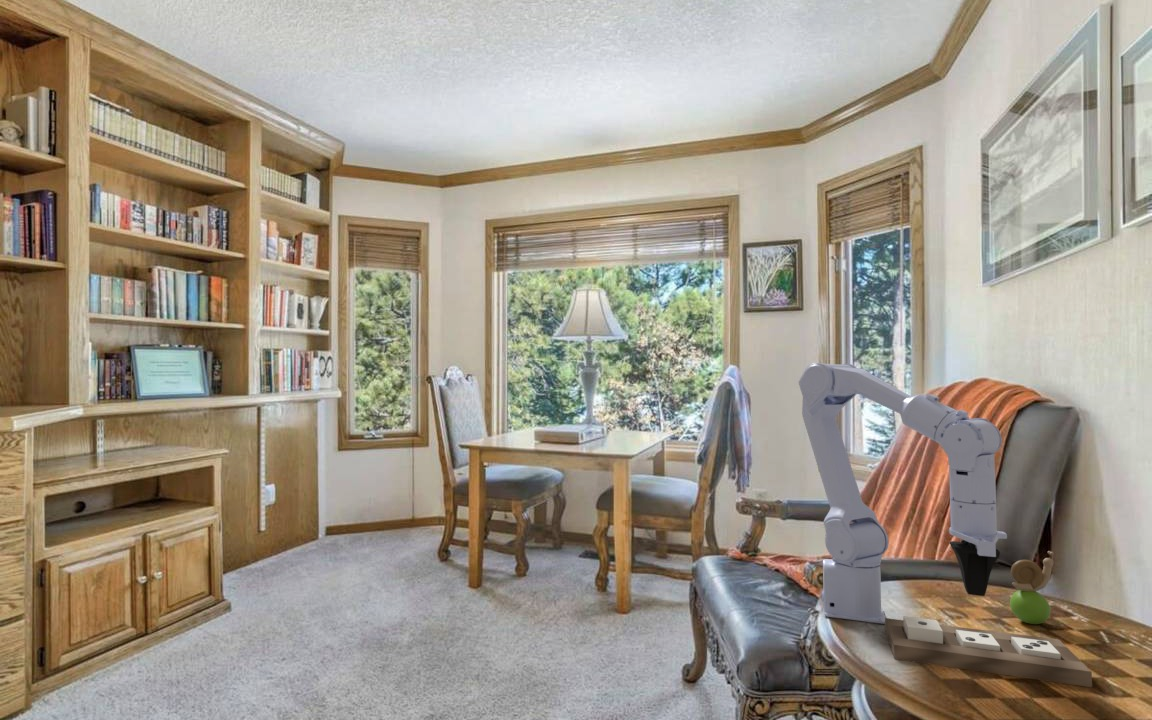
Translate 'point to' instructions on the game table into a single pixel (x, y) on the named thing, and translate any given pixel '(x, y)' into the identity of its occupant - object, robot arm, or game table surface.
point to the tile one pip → (922, 630)
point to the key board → (989, 655)
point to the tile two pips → (977, 640)
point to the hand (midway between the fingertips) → (975, 594)
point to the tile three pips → (1035, 647)
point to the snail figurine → (1030, 590)
